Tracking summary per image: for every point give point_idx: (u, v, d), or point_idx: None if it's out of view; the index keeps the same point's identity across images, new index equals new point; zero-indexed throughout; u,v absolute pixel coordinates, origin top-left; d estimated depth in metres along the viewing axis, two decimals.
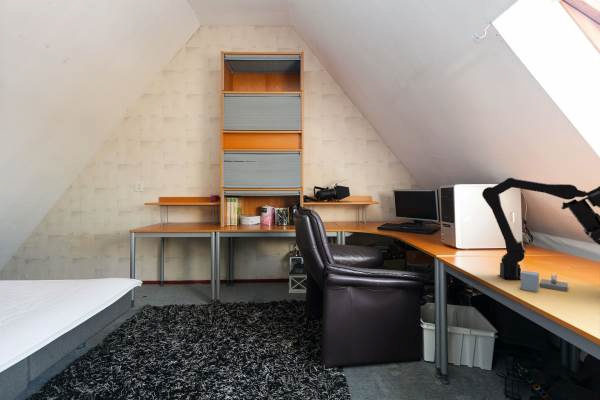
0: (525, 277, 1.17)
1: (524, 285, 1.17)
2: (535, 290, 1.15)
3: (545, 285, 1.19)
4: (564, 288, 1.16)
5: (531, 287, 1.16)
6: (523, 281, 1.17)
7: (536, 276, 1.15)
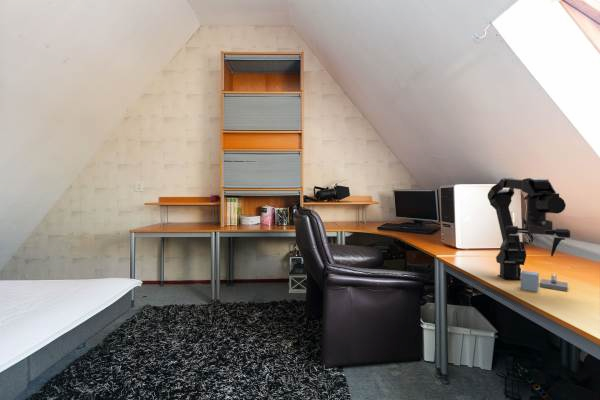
0: (525, 277, 1.17)
1: (524, 285, 1.17)
2: (535, 290, 1.15)
3: (545, 285, 1.19)
4: (564, 288, 1.16)
5: (531, 287, 1.16)
6: (523, 281, 1.17)
7: (536, 276, 1.15)
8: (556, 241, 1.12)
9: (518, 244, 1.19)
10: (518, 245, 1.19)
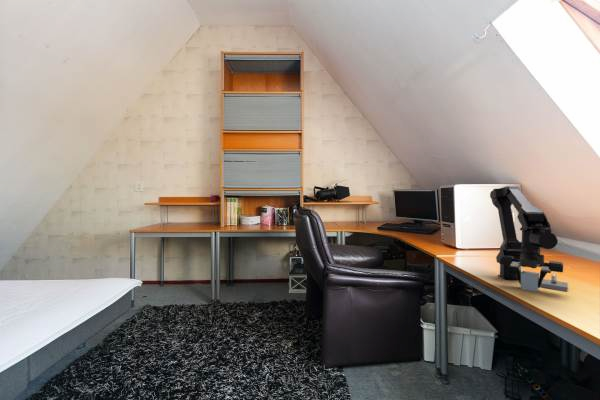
0: (525, 277, 1.17)
1: (524, 285, 1.17)
2: (535, 290, 1.15)
3: (545, 285, 1.19)
4: (564, 288, 1.16)
5: (531, 287, 1.16)
6: (523, 281, 1.17)
7: (536, 276, 1.15)
8: (542, 273, 1.14)
9: (518, 275, 1.19)
10: (518, 276, 1.19)
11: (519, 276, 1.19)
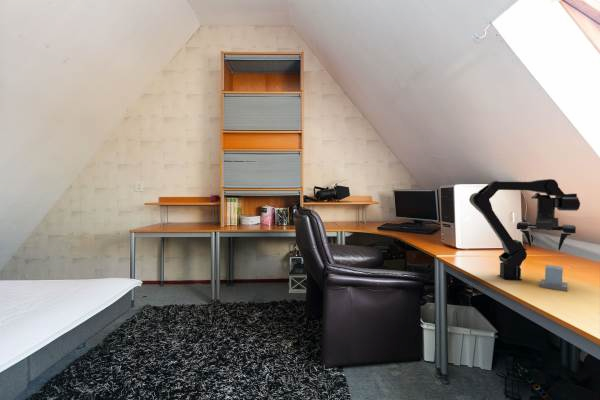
0: (549, 271, 1.20)
1: (548, 279, 1.20)
2: (560, 284, 1.18)
3: (545, 285, 1.19)
4: (564, 288, 1.16)
5: (556, 281, 1.18)
6: (547, 275, 1.20)
7: (561, 270, 1.18)
8: (563, 236, 1.24)
9: (528, 238, 1.32)
10: (528, 239, 1.32)
11: (529, 239, 1.32)
